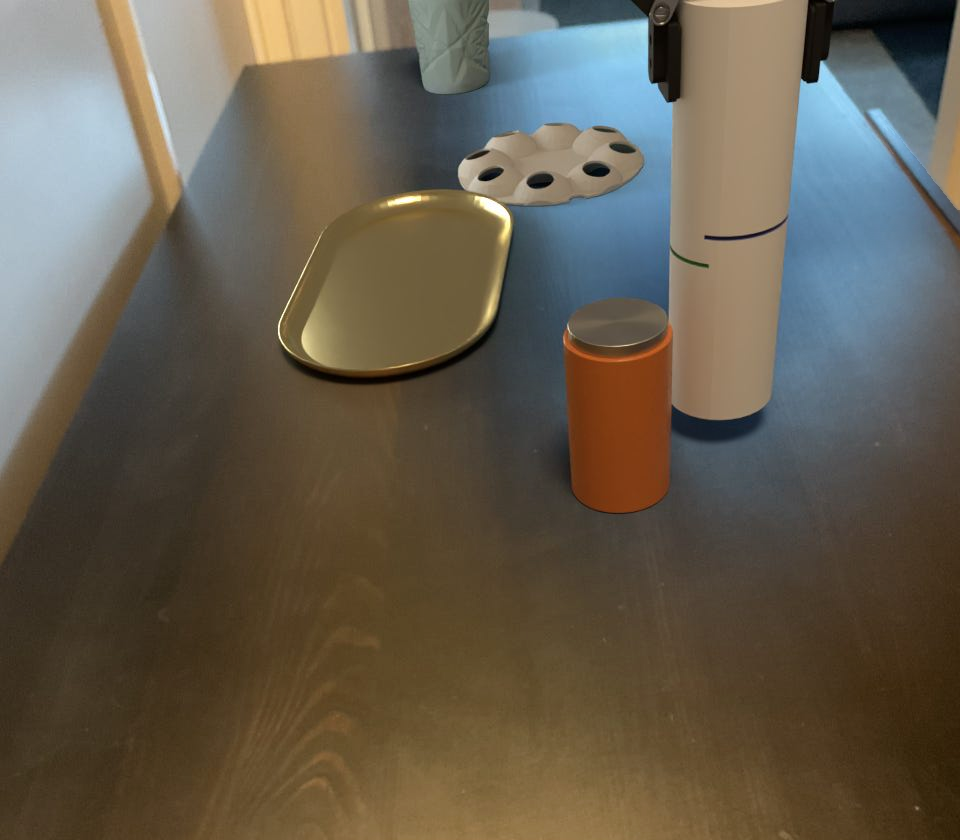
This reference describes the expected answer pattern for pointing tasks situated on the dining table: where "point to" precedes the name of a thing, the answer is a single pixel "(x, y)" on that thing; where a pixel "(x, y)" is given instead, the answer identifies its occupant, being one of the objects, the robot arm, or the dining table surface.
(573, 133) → the round palette
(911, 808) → the dining table surface
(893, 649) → the dining table surface
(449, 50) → the drinking glass
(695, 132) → the cylindrical container
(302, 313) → the serving platter
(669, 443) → the orange can
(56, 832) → the dining table surface
